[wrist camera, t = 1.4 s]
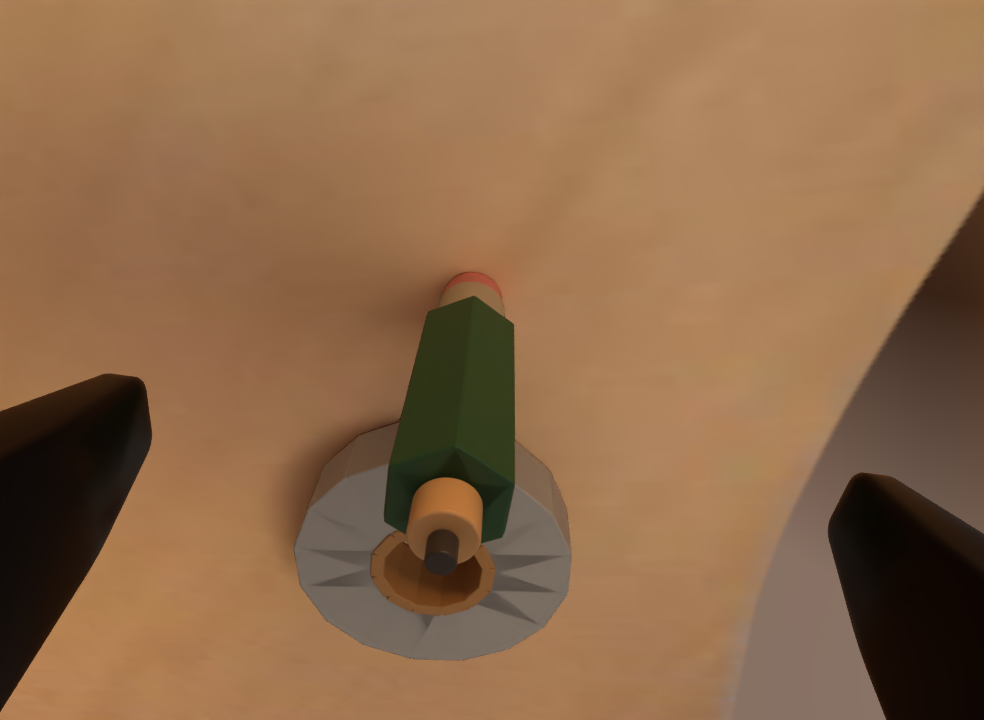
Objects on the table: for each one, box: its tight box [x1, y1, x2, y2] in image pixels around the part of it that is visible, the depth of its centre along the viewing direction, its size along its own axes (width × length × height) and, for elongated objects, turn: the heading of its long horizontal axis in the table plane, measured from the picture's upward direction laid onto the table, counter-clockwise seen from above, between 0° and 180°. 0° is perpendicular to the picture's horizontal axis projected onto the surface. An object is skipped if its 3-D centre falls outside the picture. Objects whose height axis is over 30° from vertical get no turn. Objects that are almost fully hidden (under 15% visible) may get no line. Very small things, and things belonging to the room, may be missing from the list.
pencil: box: [383, 272, 515, 575], centre depth 17 cm, size 2×3×12 cm
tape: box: [293, 422, 572, 661], centre depth 26 cm, size 10×10×3 cm
